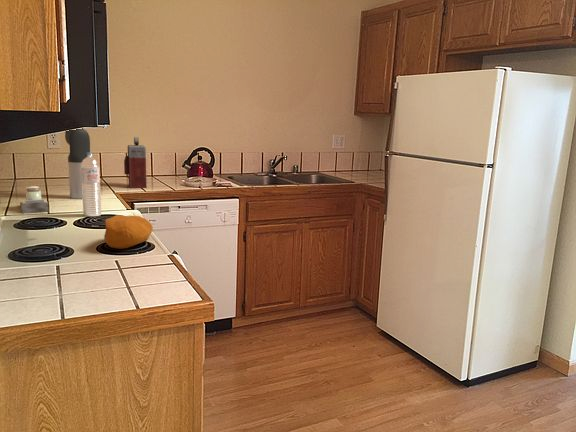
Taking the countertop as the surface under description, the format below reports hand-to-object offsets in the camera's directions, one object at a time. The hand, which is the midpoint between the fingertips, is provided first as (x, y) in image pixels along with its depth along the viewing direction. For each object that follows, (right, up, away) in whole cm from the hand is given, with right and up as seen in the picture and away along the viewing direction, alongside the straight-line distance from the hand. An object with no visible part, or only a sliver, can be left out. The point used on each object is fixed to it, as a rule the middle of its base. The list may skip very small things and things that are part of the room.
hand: (6, 133), depth 219 cm
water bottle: (+46, -36, -20) cm, 62 cm away
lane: (+17, -33, -10) cm, 38 cm away
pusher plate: (+21, -34, -16) cm, 43 cm away
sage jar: (+19, -34, -13) cm, 41 cm away
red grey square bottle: (+38, -20, +61) cm, 75 cm away
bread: (+74, -45, -61) cm, 106 cm away
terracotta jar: (+16, -33, -8) cm, 38 cm away
